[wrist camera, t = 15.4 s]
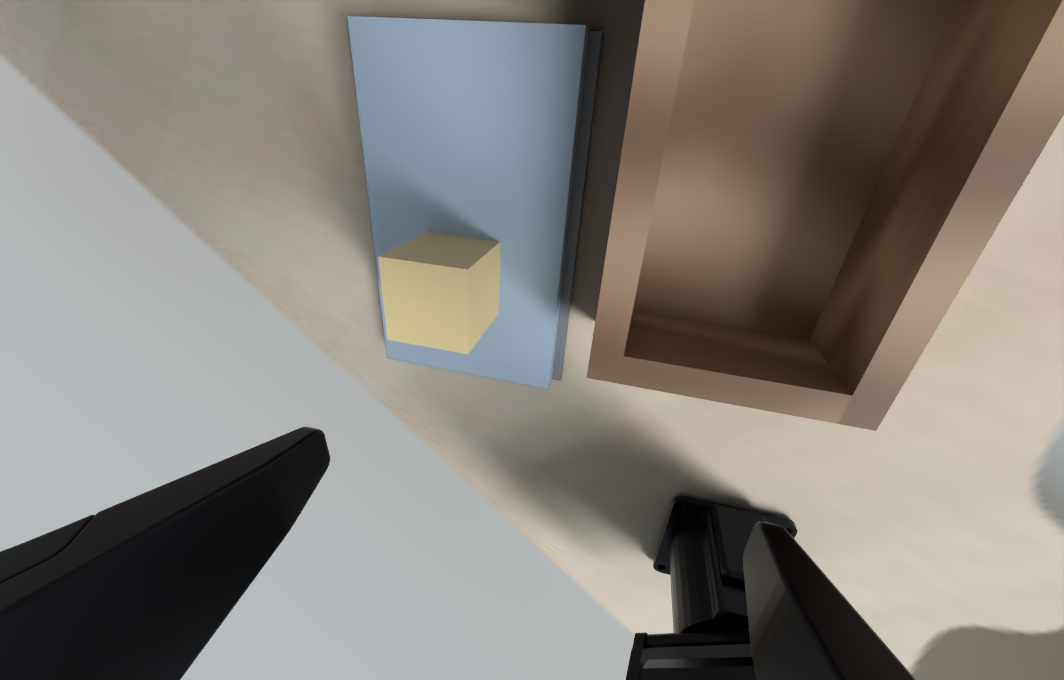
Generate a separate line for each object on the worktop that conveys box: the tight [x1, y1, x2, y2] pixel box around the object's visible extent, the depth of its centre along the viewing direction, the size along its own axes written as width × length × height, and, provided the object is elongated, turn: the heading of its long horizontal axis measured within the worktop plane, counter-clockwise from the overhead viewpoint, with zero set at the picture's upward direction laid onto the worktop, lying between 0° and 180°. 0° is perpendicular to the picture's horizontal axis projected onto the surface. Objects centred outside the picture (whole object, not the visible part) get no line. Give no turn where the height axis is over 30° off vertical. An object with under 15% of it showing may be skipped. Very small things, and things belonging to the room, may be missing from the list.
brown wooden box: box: [587, 0, 1064, 431], centre depth 13 cm, size 17×26×7 cm, turn 86°
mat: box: [552, 31, 603, 381], centre depth 19 cm, size 15×10×1 cm, turn 176°
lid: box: [347, 16, 589, 389], centre depth 17 cm, size 15×9×5 cm, turn 176°
